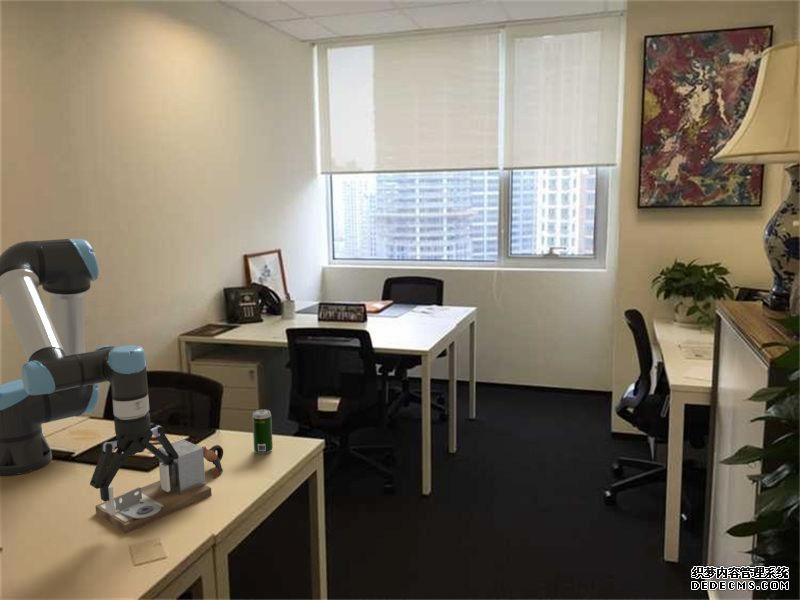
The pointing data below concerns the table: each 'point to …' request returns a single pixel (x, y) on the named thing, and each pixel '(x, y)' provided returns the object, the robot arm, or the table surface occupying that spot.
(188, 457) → the grey box
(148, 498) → the brown wooden flat board
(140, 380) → the robot arm
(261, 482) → the table surface
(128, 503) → the bracket
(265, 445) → the beer can
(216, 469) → the pottery mug
